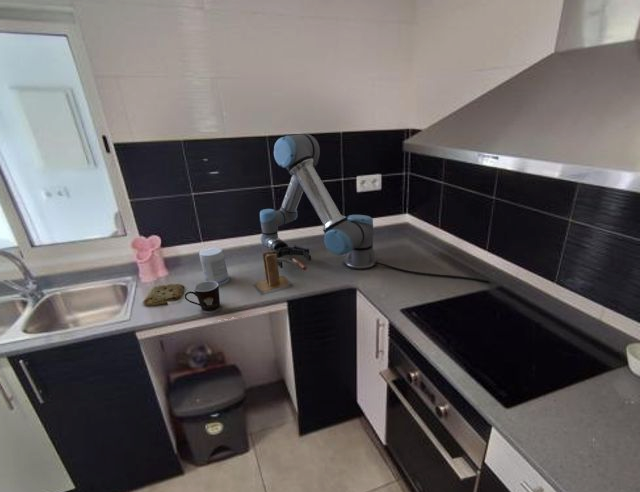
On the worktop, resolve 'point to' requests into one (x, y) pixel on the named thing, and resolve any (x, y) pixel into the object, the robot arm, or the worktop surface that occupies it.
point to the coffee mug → (207, 295)
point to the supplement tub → (214, 265)
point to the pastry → (164, 294)
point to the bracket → (271, 273)
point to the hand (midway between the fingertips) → (296, 261)
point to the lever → (291, 262)
